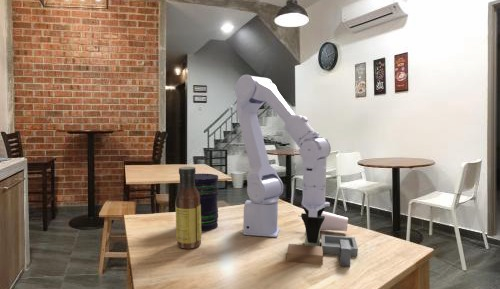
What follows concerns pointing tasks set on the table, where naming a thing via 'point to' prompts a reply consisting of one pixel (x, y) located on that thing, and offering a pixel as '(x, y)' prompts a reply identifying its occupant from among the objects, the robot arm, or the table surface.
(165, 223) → the table surface
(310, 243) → the sage dowel
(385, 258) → the table surface
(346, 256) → the post
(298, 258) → the tan rectangular block
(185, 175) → the sauce bottle
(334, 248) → the slate tray
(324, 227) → the smoothie
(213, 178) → the storage jar
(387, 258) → the table surface
